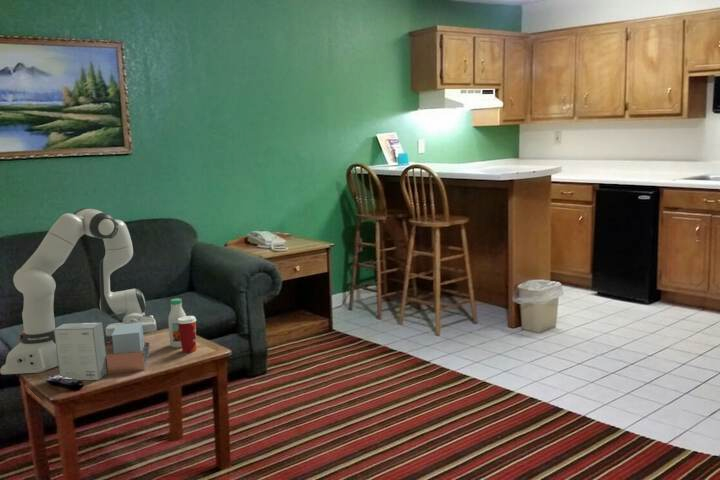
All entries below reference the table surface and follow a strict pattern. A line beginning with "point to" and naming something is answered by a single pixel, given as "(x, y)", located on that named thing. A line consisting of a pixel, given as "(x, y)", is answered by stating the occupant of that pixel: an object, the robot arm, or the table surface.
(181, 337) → the paper cup
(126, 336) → the light blue box
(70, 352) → the hard drive box
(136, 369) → the roller conveyor
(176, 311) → the milk bottle
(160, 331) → the table surface
